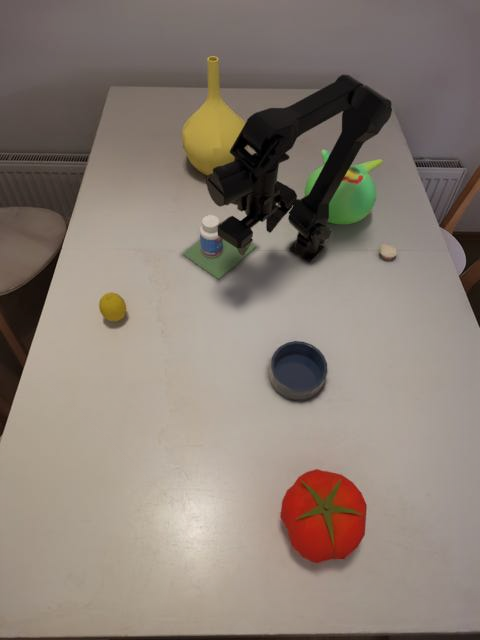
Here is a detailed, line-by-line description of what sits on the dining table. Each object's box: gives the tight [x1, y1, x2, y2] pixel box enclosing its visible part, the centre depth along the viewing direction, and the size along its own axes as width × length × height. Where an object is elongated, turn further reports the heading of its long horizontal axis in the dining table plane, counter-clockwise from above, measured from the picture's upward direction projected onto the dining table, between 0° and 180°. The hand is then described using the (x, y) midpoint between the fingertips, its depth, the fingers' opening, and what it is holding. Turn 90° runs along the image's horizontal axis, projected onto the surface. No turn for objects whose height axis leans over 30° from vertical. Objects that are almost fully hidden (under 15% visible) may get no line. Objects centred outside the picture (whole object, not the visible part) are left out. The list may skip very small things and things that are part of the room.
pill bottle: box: [199, 214, 223, 258], centre depth 103 cm, size 6×5×10 cm
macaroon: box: [379, 243, 398, 261], centre depth 107 cm, size 4×5×2 cm
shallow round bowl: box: [269, 340, 328, 401], centre depth 88 cm, size 11×11×4 cm
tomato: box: [279, 468, 368, 564], centre depth 70 cm, size 13×14×12 cm
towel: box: [182, 239, 257, 281], centre depth 108 cm, size 14×12×1 cm
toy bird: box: [304, 149, 384, 225], centre depth 110 cm, size 18×17×15 cm
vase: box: [181, 55, 249, 176], centre depth 114 cm, size 18×18×30 cm
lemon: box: [98, 292, 127, 322], centre depth 93 cm, size 6×6×8 cm
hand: (255, 242), depth 93 cm, fingers open, 9 cm apart
